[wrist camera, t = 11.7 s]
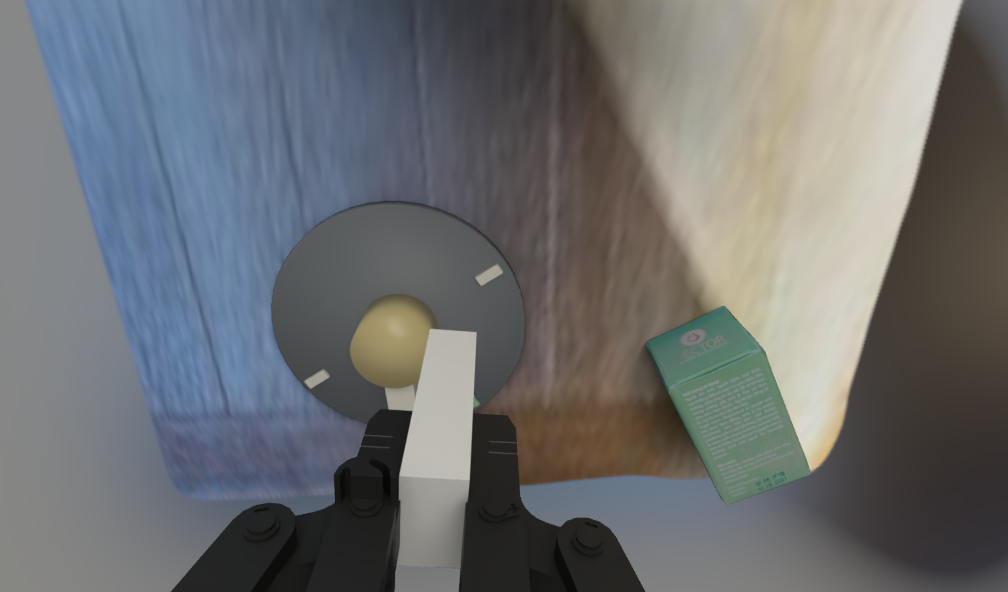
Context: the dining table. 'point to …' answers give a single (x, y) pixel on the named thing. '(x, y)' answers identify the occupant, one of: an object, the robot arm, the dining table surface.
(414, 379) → the round-headed handle
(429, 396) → the robot arm
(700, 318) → the box
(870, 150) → the dining table surface
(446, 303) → the plate
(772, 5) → the dining table surface
